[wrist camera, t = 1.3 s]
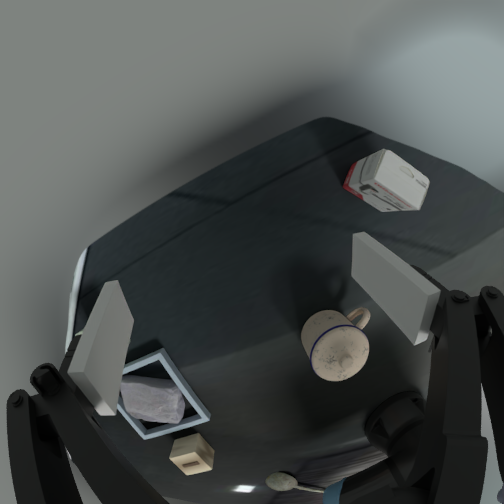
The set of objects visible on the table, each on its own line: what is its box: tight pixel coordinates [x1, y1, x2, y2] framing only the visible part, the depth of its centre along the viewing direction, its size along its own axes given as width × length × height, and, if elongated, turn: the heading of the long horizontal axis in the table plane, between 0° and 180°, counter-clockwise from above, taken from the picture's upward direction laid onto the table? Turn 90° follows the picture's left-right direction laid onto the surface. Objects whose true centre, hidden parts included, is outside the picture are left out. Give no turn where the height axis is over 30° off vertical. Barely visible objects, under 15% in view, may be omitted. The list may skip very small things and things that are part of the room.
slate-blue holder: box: [117, 348, 211, 440], centre depth 46 cm, size 16×16×2 cm
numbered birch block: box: [170, 433, 214, 475], centre depth 45 cm, size 6×6×6 cm
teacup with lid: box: [301, 307, 370, 381], centre depth 41 cm, size 12×9×12 cm
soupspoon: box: [265, 472, 324, 493], centre depth 50 cm, size 22×3×7 cm
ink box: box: [343, 149, 430, 212], centre depth 38 cm, size 9×5×12 cm, turn 64°
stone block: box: [120, 375, 185, 424], centre depth 46 cm, size 12×5×10 cm
